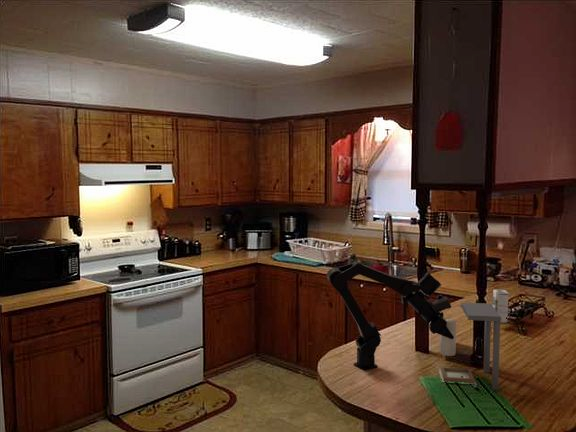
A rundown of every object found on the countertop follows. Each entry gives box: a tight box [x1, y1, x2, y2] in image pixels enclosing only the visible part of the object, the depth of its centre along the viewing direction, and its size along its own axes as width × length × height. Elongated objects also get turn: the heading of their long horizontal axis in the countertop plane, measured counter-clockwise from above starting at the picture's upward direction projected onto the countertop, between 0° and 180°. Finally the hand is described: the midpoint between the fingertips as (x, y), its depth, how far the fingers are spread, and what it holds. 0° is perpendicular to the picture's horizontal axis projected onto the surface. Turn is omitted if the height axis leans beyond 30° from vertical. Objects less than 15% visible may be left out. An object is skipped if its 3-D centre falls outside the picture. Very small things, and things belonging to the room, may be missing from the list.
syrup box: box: [492, 289, 509, 324], centre depth 240 cm, size 6×6×14 cm
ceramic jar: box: [439, 318, 457, 357], centre depth 187 cm, size 6×6×12 cm
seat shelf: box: [438, 302, 501, 391], centre depth 175 cm, size 18×16×24 cm
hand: (451, 335), depth 186 cm, fingers closed on ceramic jar, 6 cm apart
